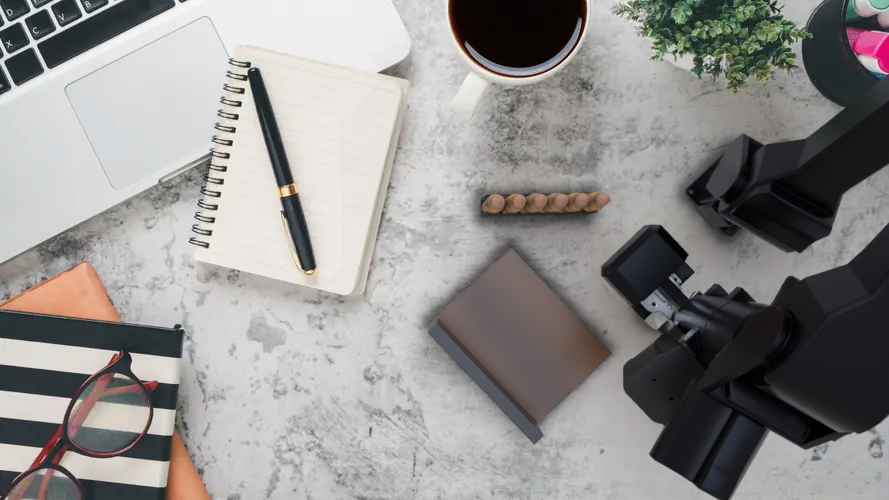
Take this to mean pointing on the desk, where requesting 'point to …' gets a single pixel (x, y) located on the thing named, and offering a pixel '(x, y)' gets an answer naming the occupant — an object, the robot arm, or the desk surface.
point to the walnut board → (518, 342)
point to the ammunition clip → (543, 204)
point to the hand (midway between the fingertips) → (669, 316)
